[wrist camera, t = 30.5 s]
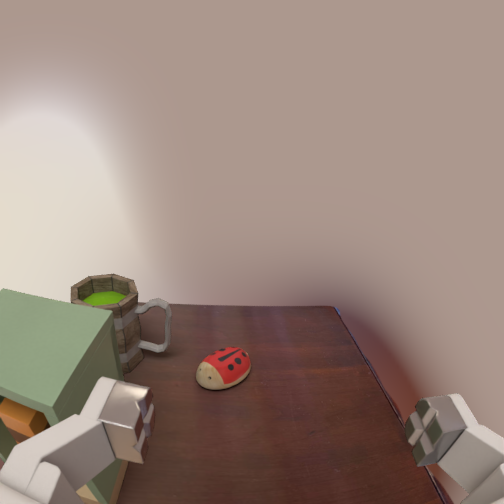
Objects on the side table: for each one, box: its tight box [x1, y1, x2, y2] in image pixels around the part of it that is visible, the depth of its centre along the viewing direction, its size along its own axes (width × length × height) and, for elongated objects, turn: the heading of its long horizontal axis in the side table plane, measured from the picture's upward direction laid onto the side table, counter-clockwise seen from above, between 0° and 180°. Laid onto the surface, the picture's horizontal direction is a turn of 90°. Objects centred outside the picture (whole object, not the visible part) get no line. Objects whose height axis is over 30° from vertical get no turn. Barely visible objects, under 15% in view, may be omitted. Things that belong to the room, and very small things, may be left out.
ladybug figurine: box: [196, 347, 251, 390], centre depth 46 cm, size 7×10×4 cm
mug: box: [71, 274, 172, 373], centre depth 45 cm, size 16×11×12 cm
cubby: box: [0, 289, 129, 504], centre depth 24 cm, size 12×14×19 cm
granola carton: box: [0, 397, 51, 444], centre depth 23 cm, size 5×4×11 cm
